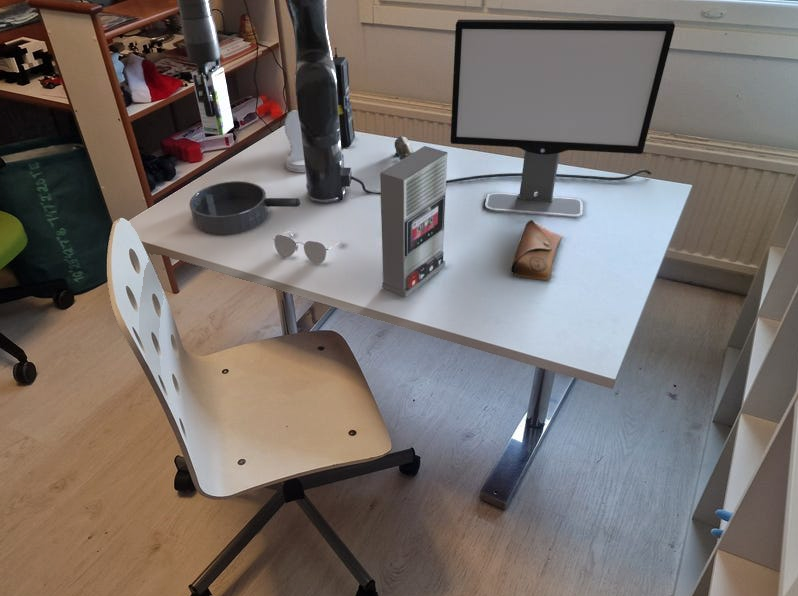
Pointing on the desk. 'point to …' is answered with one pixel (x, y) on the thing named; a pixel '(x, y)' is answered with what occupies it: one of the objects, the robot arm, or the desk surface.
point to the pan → (229, 208)
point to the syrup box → (216, 104)
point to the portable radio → (344, 101)
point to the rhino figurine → (403, 147)
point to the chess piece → (294, 142)
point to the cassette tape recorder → (413, 219)
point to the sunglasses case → (535, 253)
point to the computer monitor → (555, 95)
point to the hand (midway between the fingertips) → (215, 110)
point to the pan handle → (282, 202)
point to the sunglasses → (311, 248)
